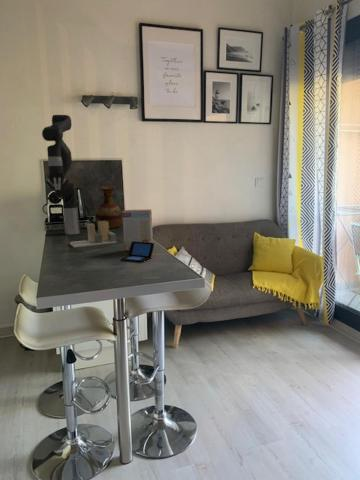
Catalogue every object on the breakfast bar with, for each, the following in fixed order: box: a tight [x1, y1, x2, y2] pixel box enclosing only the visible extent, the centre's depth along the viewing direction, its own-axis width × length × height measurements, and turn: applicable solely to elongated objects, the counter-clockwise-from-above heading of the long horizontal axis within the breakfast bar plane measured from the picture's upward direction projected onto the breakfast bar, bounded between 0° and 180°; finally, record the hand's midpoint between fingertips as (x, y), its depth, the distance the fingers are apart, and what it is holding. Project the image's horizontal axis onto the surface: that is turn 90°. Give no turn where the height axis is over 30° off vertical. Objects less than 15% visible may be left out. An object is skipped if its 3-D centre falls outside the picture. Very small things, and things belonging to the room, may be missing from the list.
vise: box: [69, 230, 118, 248], centre depth 218 cm, size 12×24×5 cm, turn 116°
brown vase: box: [94, 185, 123, 229], centre depth 276 cm, size 20×20×30 cm
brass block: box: [97, 221, 110, 241], centre depth 220 cm, size 5×5×11 cm
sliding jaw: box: [86, 223, 103, 243], centre depth 218 cm, size 12×6×10 cm, turn 26°
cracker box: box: [121, 208, 154, 253], centre depth 194 cm, size 14×6×21 cm, turn 84°
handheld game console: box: [120, 241, 155, 263], centre depth 176 cm, size 12×11×7 cm
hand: (58, 196), depth 213 cm, fingers closed
